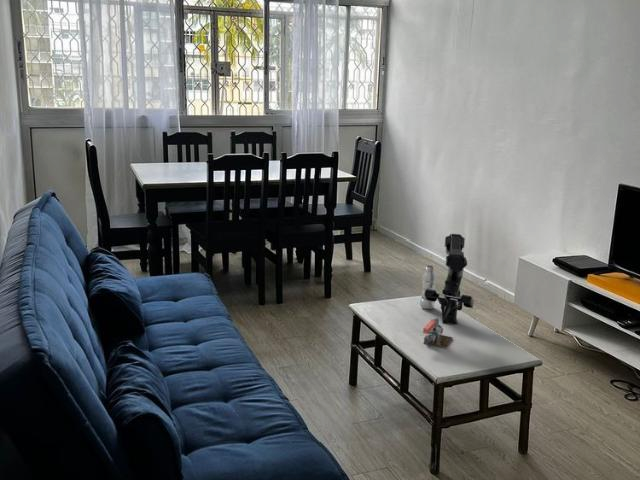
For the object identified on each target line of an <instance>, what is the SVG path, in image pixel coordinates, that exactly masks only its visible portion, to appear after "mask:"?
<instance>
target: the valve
mask: <svg viewBox="0 0 640 480" xmlns="http://www.w3.org/2000/svg"><path fill="white" fill-rule="evenodd" d="M443 332H444V328H443V327H442V325H440V324H439V325H438V326H435V327H434V328H433V329H432V330H431V331H430V332H429V333H428V334H426V335H425V336H424V338H423V344H424V345H426V346H427V345H428V346H432V347H437V348H443V349H447V347H448V346H449V345H450V343H451V342H452V340H453V336H449V335H443Z"/></svg>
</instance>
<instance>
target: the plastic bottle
mask: <svg viewBox="0 0 640 480" xmlns="http://www.w3.org/2000/svg"><path fill="white" fill-rule="evenodd" d="M421 278H422V279H421V282H422V292H421V298H420V303H419V304H420V305H419V306H420V307H421V309H426V310H432V309H433V308H434V307H435V304H436V301H435V302H433V301H428V300H427V299H426V297H425V295H424V293H425V290H427V289H431V290H435V289H436V283H437V275H436V273H435V266H434V265H429V264H428V265H426V266H425V272H424V273H423V275H422V277H421Z"/></svg>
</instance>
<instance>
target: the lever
mask: <svg viewBox="0 0 640 480" xmlns="http://www.w3.org/2000/svg"><path fill="white" fill-rule="evenodd" d="M439 323H440V318H439V317H437V316H433V317H432V316H431V318H430V321H429V322H428V323H427V324H426V325H425V326H424V327H423V329H422V334H426V335H427V334H428V333H429V332H430V331H431V330H432V329H433V328H434V327H435V326H438V325H440V324H439Z"/></svg>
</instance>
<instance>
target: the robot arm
mask: <svg viewBox="0 0 640 480" xmlns="http://www.w3.org/2000/svg"><path fill="white" fill-rule="evenodd" d="M465 241H466V238H465V237H463V236H462V234H460V233H450V234H449V235H448V236H445V238H444V247H445V253H446V256H445V266H446V267H447V270H448V272H447V276H446V279H445V281H444V287H443V289H442V293H437V290H431V289H427V290H425V293H424V295H425V297H426V299H427V300H428V301H433V302H435V303H436V302H438V303H439V305H440V310H441V315H442V316H441V322H442V324H444V325H445V324H448V325H458V324H459V322H458V318H457V317H458V311H461V310H463V306H464V307H465V308H470V309H473V308H474V304H475V303H474V299H473V296H472V295H466V294H462V295H461V290H460V287H461V284H462V281H463V276H464V269H465V268H466V267H467V266H468V260H467V258H466V257H465V253H464V251H463V249H464V248H465Z"/></svg>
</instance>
